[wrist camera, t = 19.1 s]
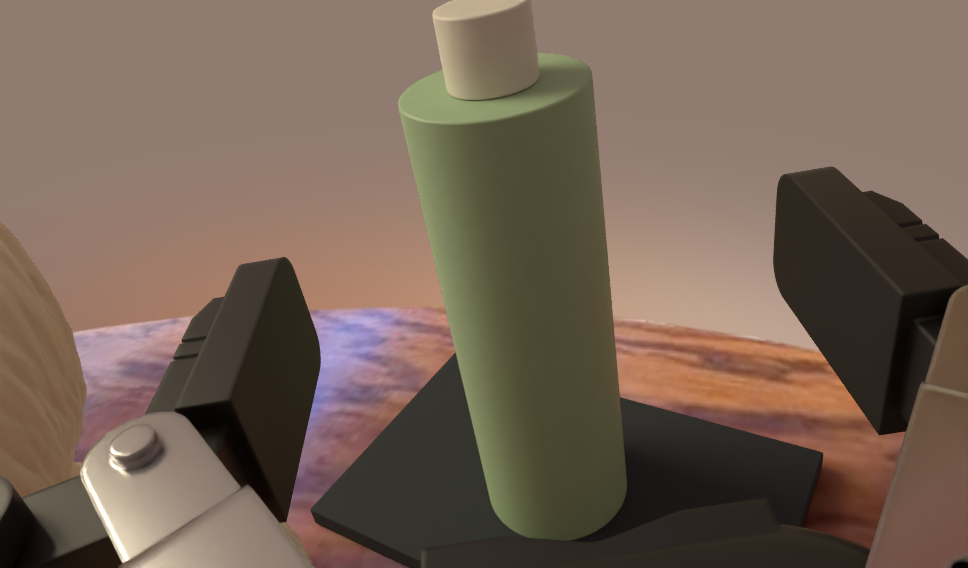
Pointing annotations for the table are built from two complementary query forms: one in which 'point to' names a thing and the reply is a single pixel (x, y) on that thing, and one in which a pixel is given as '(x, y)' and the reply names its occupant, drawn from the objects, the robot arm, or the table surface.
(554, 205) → the soap bottle
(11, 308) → the figurine
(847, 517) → the table surface
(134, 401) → the table surface
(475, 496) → the drying mat
